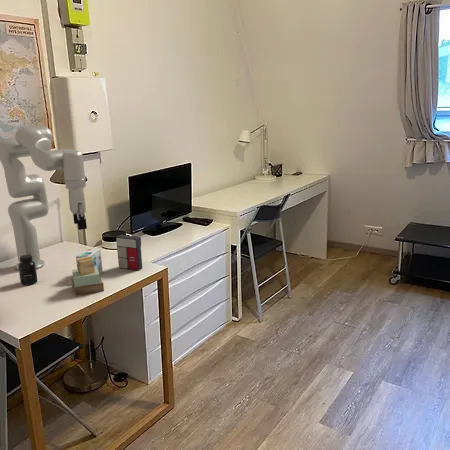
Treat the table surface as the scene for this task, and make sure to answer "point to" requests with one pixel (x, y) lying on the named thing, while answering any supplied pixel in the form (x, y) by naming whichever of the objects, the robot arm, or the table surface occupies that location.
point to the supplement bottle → (27, 270)
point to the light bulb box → (93, 257)
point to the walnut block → (88, 288)
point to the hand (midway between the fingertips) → (80, 226)
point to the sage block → (86, 278)
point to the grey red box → (129, 252)
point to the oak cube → (85, 265)
